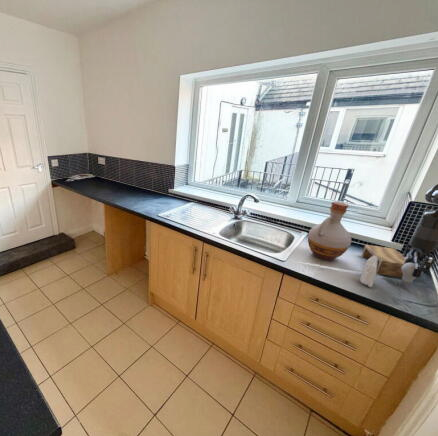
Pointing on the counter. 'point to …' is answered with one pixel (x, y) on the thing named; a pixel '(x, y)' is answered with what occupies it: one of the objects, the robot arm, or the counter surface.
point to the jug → (330, 235)
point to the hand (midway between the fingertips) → (410, 272)
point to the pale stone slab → (369, 271)
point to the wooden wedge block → (386, 260)
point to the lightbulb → (408, 273)
